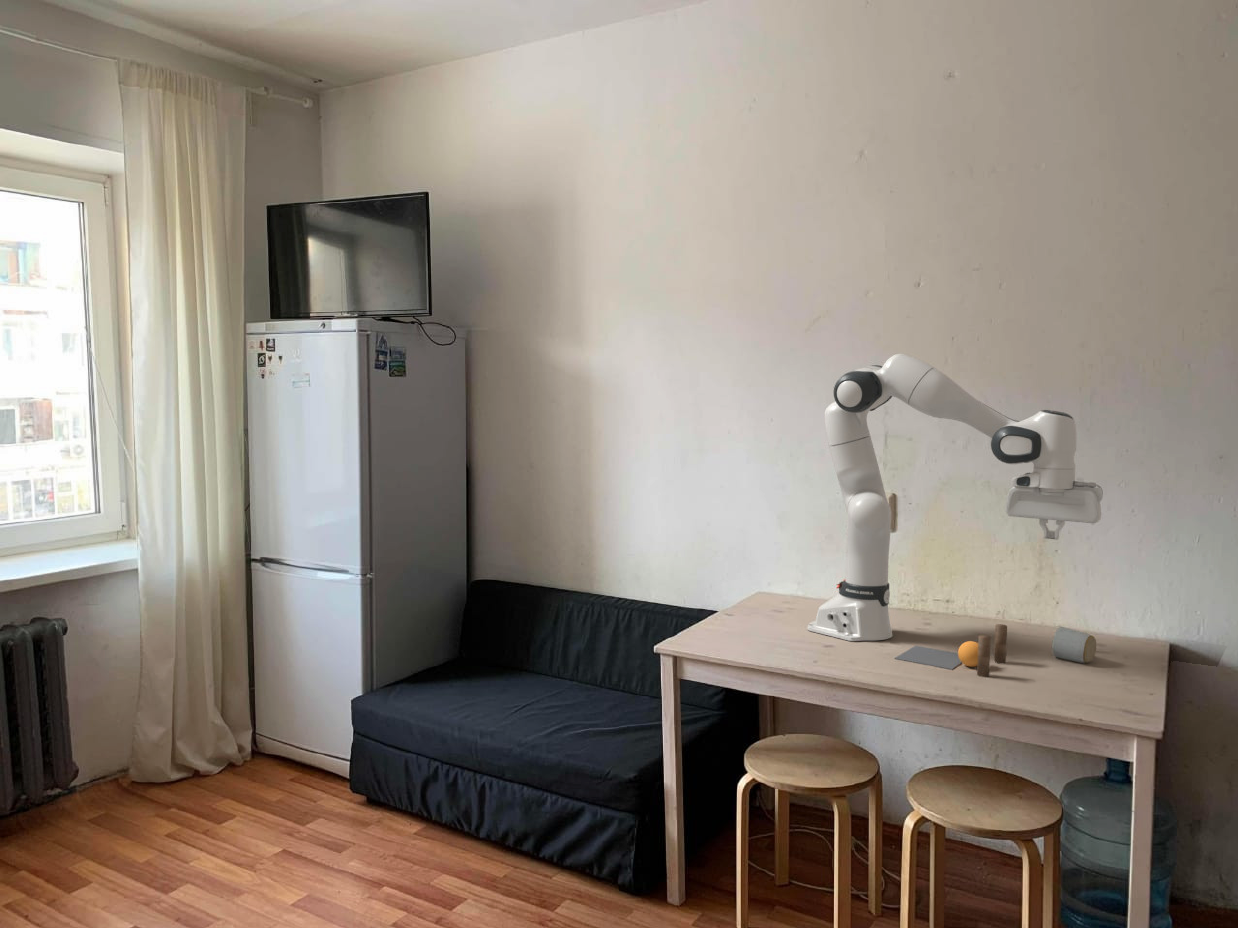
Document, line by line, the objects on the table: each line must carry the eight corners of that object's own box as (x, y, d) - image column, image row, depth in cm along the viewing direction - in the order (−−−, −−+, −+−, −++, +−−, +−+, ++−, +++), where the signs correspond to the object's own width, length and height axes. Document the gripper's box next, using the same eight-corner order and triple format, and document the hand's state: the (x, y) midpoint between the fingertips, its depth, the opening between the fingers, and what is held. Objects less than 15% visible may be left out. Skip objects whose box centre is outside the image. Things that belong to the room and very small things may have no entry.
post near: (975, 675, 215) (977, 637, 214) (979, 672, 217) (980, 634, 216) (987, 677, 213) (988, 639, 212) (990, 674, 215) (992, 636, 214)
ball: (950, 658, 221) (964, 637, 220) (956, 654, 226) (969, 634, 225) (972, 673, 218) (987, 653, 217) (978, 669, 223) (992, 649, 222)
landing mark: (894, 658, 228) (894, 657, 228) (915, 646, 238) (915, 645, 238) (952, 669, 219) (952, 668, 219) (971, 656, 230) (971, 655, 230)
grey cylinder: (1085, 667, 221) (1087, 635, 221) (1050, 659, 227) (1052, 628, 227) (1101, 659, 229) (1103, 628, 228) (1067, 652, 235) (1068, 622, 234)
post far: (992, 662, 225) (994, 625, 224) (996, 659, 227) (997, 623, 226) (1003, 664, 223) (1005, 627, 223) (1007, 661, 225) (1008, 625, 225)
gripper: (1106, 481, 212) (1103, 541, 214) (1012, 476, 225) (1010, 532, 226) (1100, 484, 207) (1097, 545, 209) (1004, 478, 220) (1002, 536, 221)
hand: (1051, 538), depth 218 cm, fingers closed
